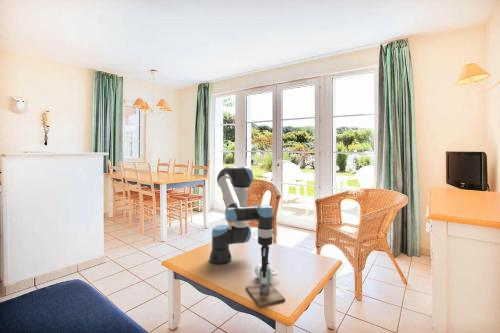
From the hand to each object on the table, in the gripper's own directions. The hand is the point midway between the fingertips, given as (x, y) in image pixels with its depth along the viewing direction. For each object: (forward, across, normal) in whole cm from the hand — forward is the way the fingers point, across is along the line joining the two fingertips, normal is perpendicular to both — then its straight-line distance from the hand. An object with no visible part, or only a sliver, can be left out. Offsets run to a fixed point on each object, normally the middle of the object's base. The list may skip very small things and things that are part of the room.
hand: (264, 279), depth 131 cm
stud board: (+8, 0, 0) cm, 8 cm away
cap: (+1, 0, 0) cm, 1 cm away
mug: (+8, +16, 0) cm, 18 cm away
